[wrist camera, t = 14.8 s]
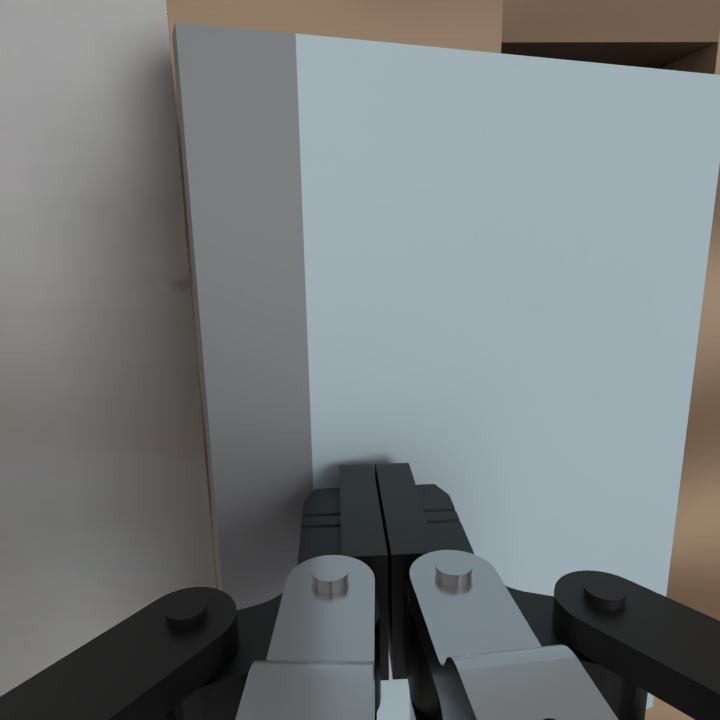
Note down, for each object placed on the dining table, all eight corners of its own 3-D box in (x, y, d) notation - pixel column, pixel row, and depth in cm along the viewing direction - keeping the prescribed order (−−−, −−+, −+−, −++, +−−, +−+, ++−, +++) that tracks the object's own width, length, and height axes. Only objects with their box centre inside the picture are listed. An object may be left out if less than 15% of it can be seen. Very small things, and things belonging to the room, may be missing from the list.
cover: (172, 36, 10) (174, 21, 9) (700, 83, 14) (730, 75, 14) (240, 838, 14) (245, 872, 14) (631, 687, 19) (652, 706, 18)
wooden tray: (201, 46, 17) (165, -5, 14) (777, 44, 18) (898, -3, 14) (247, 664, 23) (231, 757, 19) (694, 639, 24) (766, 723, 20)
